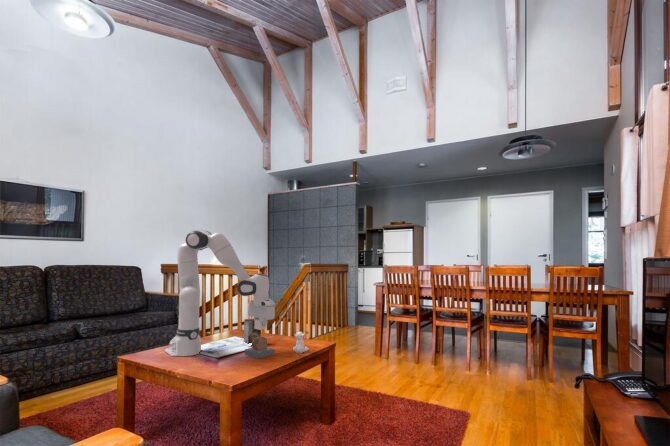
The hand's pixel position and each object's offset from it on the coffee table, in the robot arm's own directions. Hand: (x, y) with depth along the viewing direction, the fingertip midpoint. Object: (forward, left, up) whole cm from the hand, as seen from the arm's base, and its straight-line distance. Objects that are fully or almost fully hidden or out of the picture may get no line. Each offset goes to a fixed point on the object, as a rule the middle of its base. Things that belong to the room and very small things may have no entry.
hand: (260, 325), depth 216 cm
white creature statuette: (+13, +20, -17) cm, 29 cm away
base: (0, 0, -16) cm, 16 cm away
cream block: (0, 0, -2) cm, 2 cm away
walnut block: (0, 0, -13) cm, 13 cm away
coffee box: (-21, +11, -17) cm, 29 cm away
